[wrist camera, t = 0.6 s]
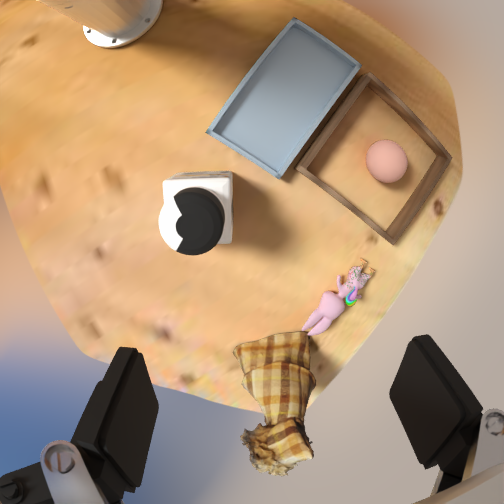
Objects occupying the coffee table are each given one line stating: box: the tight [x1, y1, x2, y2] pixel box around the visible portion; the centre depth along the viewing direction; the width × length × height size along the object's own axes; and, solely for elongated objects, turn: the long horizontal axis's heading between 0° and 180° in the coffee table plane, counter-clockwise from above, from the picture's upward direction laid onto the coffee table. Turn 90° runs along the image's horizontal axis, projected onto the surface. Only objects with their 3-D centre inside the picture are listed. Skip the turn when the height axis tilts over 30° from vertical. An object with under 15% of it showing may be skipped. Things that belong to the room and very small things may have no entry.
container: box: [159, 171, 233, 255], centre depth 33 cm, size 8×8×13 cm
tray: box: [205, 17, 362, 179], centre depth 33 cm, size 11×20×2 cm, turn 146°
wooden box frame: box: [295, 72, 452, 245], centre depth 36 cm, size 18×17×3 cm
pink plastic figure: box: [302, 259, 375, 335], centre depth 43 cm, size 6×6×15 cm
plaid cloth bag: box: [233, 332, 316, 476], centre depth 40 cm, size 14×14×25 cm
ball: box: [366, 140, 408, 183], centre depth 35 cm, size 6×6×6 cm
